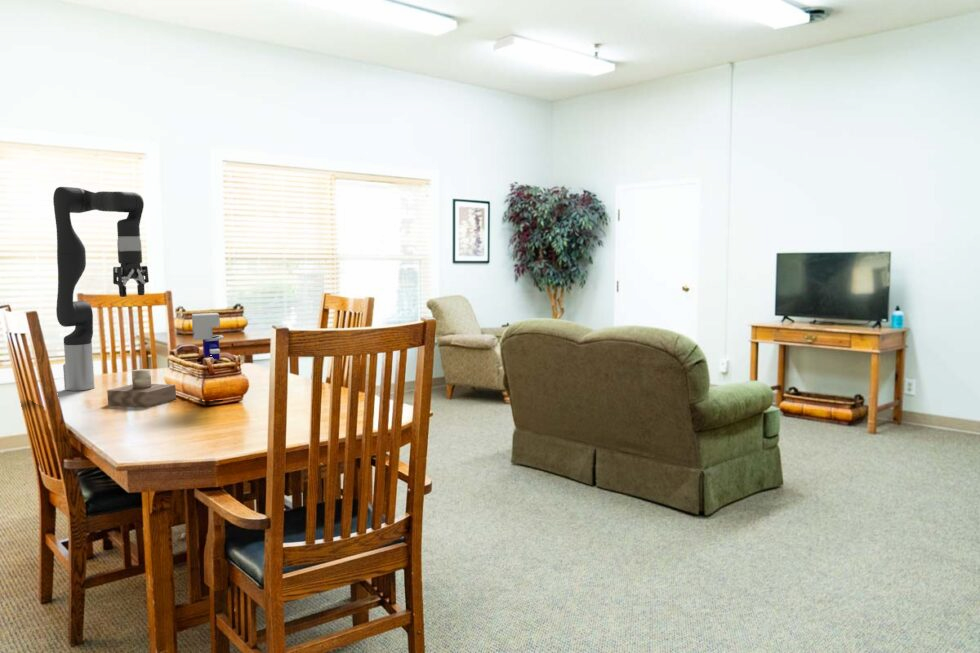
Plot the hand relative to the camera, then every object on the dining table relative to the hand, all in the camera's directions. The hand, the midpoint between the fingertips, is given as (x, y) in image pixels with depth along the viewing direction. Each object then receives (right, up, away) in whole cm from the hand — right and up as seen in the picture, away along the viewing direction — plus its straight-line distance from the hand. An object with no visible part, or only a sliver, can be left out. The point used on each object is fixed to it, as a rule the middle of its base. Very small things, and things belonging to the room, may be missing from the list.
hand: (132, 296), depth 261 cm
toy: (+29, -37, -2) cm, 47 cm away
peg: (+6, -36, -5) cm, 37 cm away
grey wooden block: (+6, -37, -5) cm, 38 cm away
